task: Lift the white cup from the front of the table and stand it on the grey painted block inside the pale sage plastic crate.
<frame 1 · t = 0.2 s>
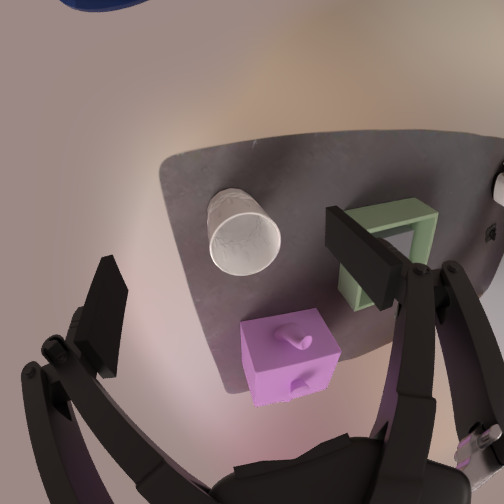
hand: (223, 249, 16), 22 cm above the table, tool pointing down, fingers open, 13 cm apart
white cup: (230, 210, 38), on the table
crate: (377, 243, 48), on the table
black flat lump: (489, 232, 59), on the table
spread jar: (498, 177, 49), on the table
teapot: (277, 332, 54), on the table
grey block: (380, 245, 48), resting on crate
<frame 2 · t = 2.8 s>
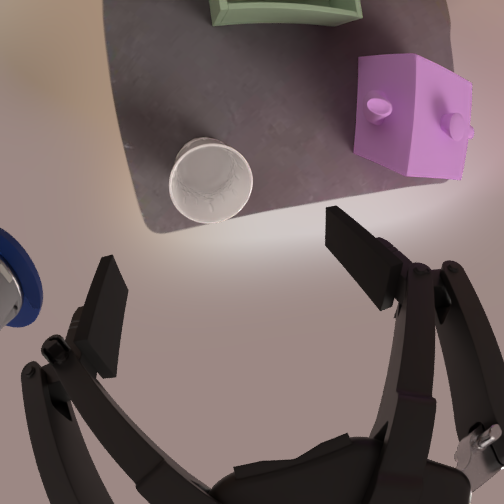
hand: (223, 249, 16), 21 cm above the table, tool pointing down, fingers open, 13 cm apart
white cup: (202, 162, 33), on the table
teapot: (383, 109, 35), on the table
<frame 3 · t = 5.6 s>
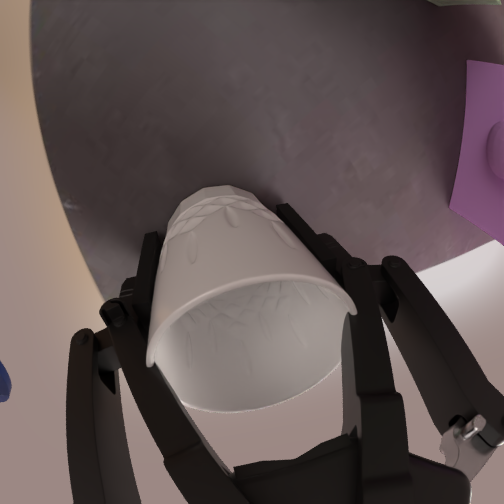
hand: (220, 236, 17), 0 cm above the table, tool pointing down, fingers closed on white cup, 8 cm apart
white cup: (219, 233, 18), on the table, touching gripper
teapot: (485, 141, 19), on the table
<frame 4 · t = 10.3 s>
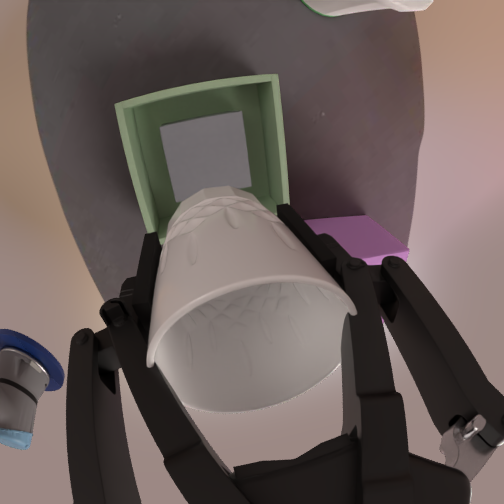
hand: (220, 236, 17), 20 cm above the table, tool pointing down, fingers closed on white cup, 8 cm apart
white cup: (219, 234, 18), point 19 cm above the table, touching gripper
crate: (204, 149, 33), on the table
teapot: (321, 258, 46), on the table
grey block: (204, 150, 32), resting on crate
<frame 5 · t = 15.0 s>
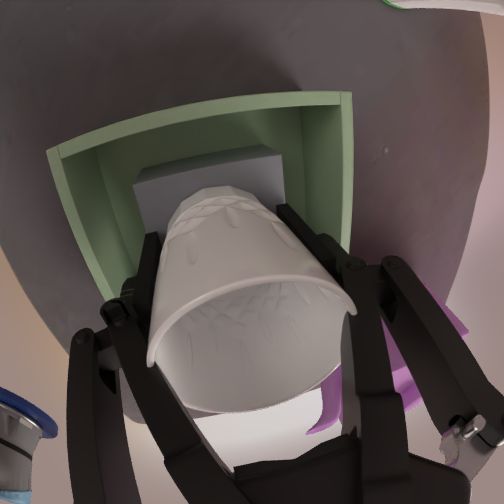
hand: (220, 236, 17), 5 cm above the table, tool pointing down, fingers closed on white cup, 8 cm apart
white cup: (219, 233, 18), point 5 cm above the table, touching gripper
crate: (211, 207, 22), on the table
teapot: (358, 327, 35), on the table
grey block: (213, 210, 21), resting on crate
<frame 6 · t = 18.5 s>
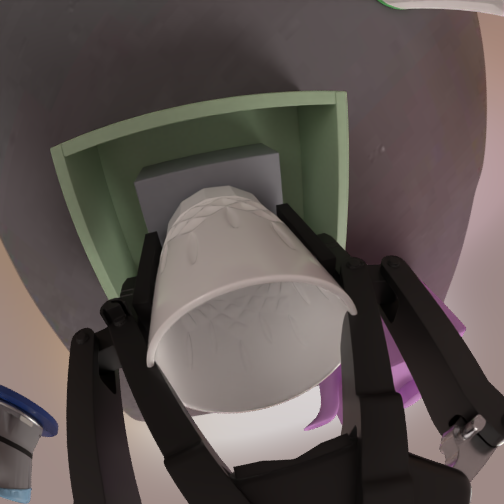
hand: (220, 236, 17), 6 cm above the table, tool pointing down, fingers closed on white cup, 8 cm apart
white cup: (219, 233, 18), point 5 cm above the table, touching gripper
crate: (211, 204, 22), on the table
teapot: (356, 324, 36), on the table
grey block: (212, 208, 21), resting on crate
when the fingers open (6 cm above the table, at t = 21.8 s): white cup drops 1 cm, resting on grey block.
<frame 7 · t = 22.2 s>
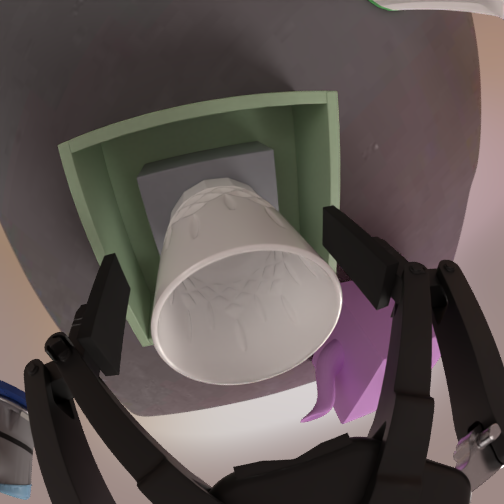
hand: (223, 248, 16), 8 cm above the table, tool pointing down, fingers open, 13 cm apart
white cup: (218, 222, 19), point 5 cm above the table, touching grey block
crate: (209, 200, 23), on the table
teapot: (353, 319, 37), on the table
grey block: (210, 203, 22), resting on crate
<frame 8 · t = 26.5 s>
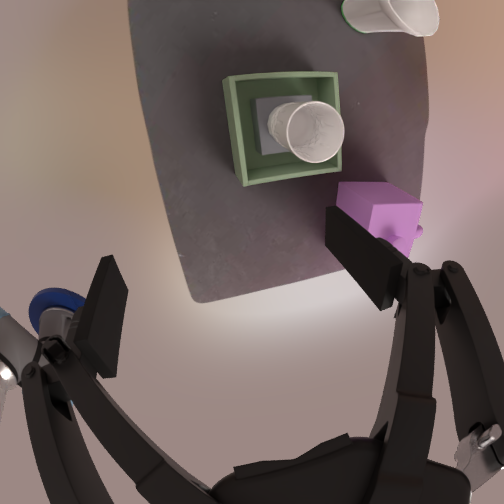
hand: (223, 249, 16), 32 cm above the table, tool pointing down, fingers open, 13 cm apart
white cup: (287, 123, 39), point 5 cm above the table, touching grey block
crate: (277, 121, 43), on the table
teapot: (354, 214, 56), on the table
cup: (359, 14, 33), on the table
grey block: (278, 121, 42), resting on crate
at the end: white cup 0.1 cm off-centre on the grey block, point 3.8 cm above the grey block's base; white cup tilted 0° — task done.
